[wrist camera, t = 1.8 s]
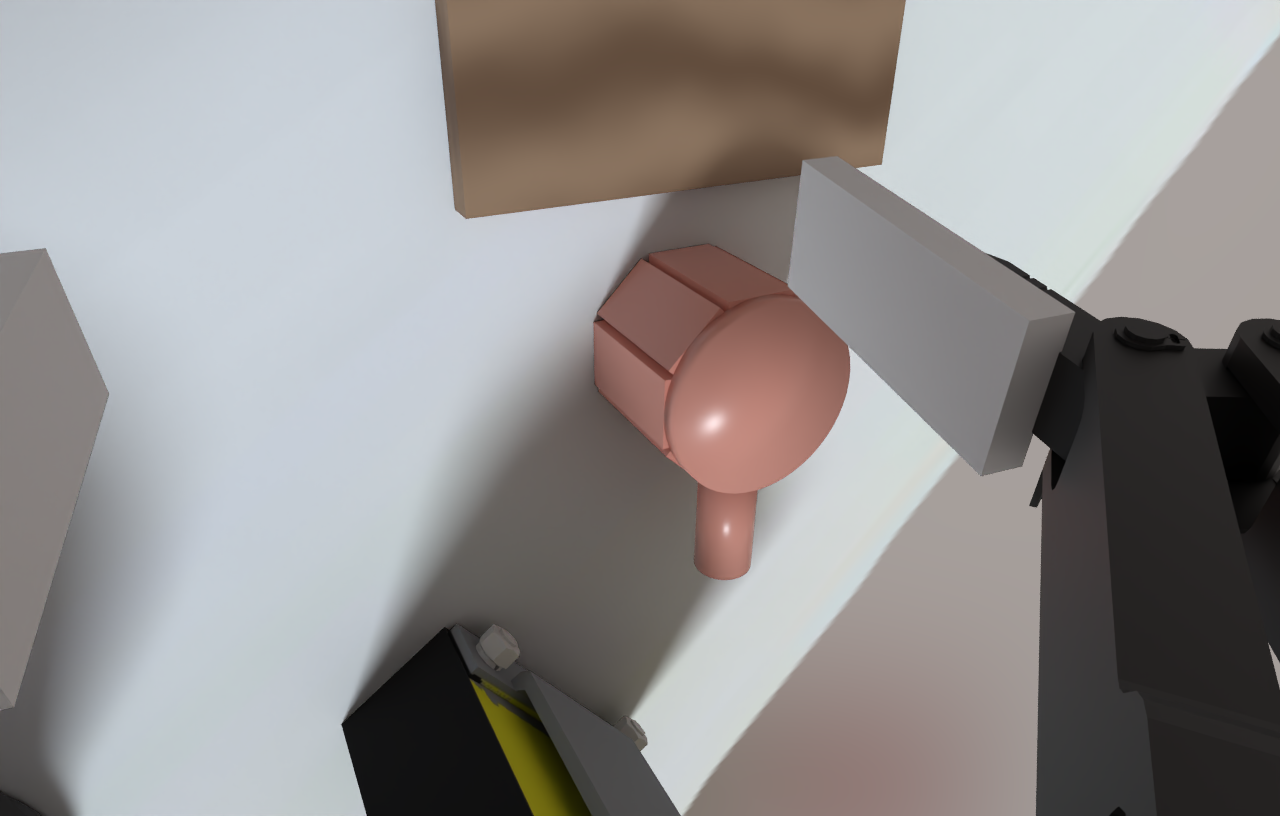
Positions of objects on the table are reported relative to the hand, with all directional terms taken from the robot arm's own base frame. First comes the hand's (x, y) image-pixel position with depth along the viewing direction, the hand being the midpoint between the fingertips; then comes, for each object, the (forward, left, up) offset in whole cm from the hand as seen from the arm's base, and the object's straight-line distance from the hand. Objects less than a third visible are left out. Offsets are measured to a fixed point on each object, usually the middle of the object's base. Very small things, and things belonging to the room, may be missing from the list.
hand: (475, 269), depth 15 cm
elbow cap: (-16, -16, -20) cm, 30 cm away
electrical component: (-36, -5, -20) cm, 41 cm away
